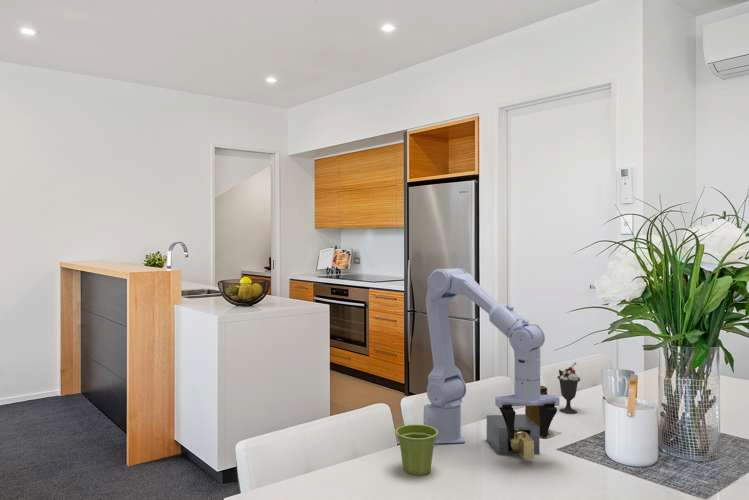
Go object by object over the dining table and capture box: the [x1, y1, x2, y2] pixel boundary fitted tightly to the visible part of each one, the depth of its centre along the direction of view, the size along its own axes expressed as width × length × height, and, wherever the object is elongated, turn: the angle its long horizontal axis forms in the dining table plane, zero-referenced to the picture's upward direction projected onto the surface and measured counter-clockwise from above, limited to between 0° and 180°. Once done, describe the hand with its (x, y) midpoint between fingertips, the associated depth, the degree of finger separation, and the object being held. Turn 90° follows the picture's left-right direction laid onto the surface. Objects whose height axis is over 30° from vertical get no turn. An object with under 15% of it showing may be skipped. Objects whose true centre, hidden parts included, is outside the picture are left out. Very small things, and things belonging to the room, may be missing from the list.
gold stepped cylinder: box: [508, 430, 535, 460], centre depth 131 cm, size 5×13×5 cm, turn 5°
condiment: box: [524, 384, 561, 439], centre depth 146 cm, size 7×8×12 cm
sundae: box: [556, 362, 581, 415], centre depth 165 cm, size 7×7×15 cm
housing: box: [486, 413, 541, 456], centre depth 135 cm, size 10×10×6 cm
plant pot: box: [395, 424, 438, 476], centre depth 121 cm, size 9×9×9 cm
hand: (527, 437), depth 125 cm, fingers open, 7 cm apart
